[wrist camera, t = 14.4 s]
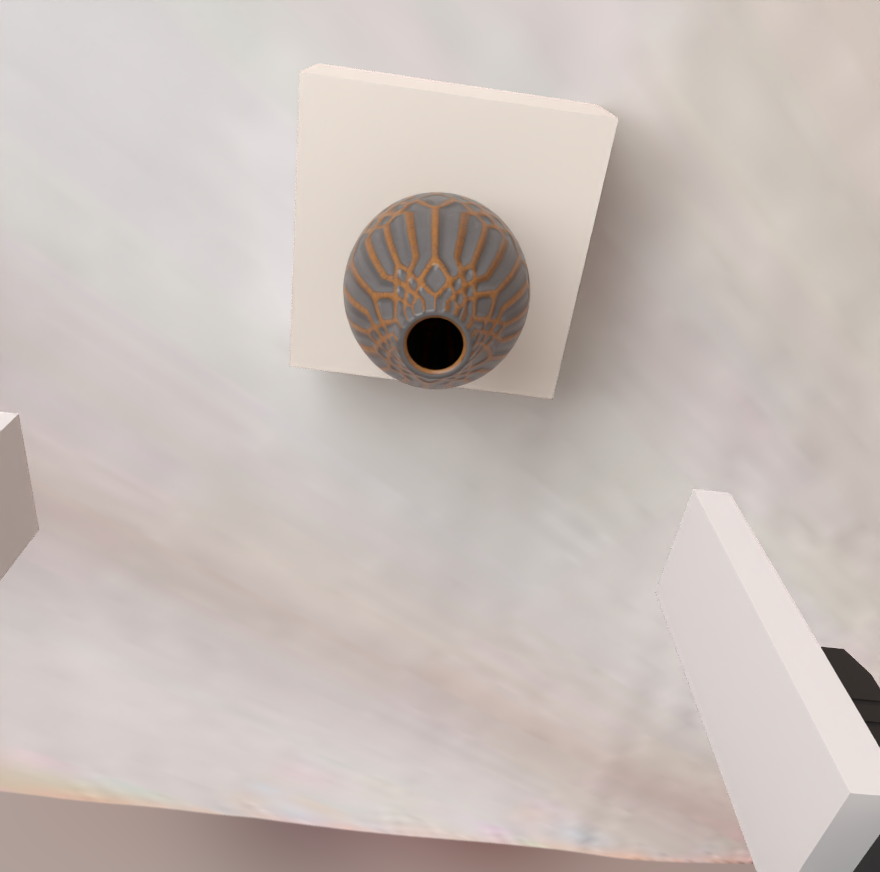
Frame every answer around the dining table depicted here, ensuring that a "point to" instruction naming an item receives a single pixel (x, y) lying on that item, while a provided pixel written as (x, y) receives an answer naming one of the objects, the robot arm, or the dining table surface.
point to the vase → (436, 290)
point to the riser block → (450, 171)
